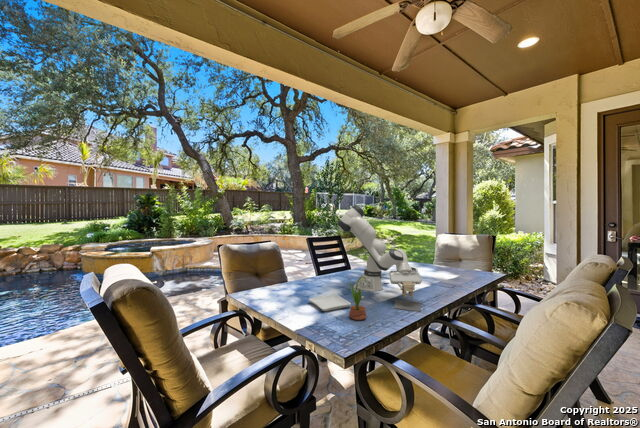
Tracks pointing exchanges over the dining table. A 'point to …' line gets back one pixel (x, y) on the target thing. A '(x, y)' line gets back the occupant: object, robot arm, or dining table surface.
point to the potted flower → (358, 311)
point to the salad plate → (329, 302)
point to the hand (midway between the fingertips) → (407, 289)
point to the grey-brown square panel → (407, 305)
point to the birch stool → (407, 288)
